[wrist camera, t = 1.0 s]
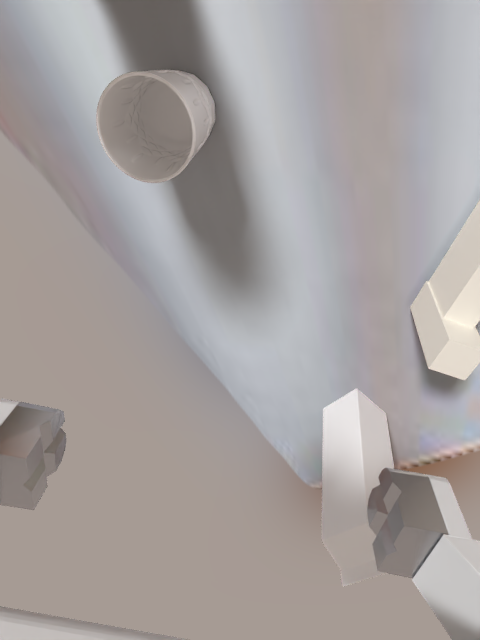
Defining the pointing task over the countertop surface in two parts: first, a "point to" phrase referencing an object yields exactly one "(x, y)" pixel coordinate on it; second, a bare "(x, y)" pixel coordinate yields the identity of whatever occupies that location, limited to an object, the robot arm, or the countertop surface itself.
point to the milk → (352, 481)
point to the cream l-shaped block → (453, 306)
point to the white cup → (154, 122)
